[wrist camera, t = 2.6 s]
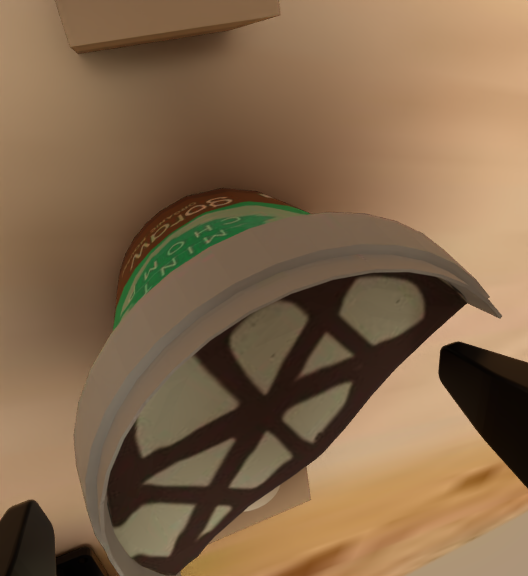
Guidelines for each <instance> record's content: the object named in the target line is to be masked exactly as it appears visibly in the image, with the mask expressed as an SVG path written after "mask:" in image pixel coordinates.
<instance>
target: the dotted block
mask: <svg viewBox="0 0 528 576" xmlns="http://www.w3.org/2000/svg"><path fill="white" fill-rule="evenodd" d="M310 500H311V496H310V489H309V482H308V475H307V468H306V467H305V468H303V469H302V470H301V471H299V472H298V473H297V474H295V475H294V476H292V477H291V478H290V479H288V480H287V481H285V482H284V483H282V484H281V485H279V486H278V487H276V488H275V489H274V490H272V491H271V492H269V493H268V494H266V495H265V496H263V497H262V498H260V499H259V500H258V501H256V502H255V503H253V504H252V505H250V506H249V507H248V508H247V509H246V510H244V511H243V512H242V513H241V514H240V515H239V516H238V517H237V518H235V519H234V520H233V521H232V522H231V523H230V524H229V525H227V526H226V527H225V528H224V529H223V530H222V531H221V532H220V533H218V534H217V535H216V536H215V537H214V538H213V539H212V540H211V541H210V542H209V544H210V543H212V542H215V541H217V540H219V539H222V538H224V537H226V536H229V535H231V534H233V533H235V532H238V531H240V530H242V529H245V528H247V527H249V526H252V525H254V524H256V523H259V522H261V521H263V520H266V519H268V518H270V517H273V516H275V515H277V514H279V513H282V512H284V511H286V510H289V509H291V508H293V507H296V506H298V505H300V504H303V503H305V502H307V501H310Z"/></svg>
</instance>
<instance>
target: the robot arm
mask: <svg viewBox="0 0 528 576" xmlns="http://www.w3.org/2000/svg"><path fill="white" fill-rule="evenodd" d="M438 374H439V378H440V380H441V382H442V384H443V385H444V387H445V388H446V389H447V391H448V392H449V393H450V395H451V396H452V398H453V399H454V400H455V402H456V403H457V404H458V406H459V407H460V408H461V410H462V411H463V413H464V414H465V415H466V417H467V418H468V419H469V421H470V422H471V423H472V425H473V426H474V427H475V429H476V430H477V431H478V433H479V434H480V435H481V436H482V438H483V439H484V440H485V441H486V442H487V443H488V445H489V446H490V447H491V448H492V449H493V450H494V451H495V452H496V454H497V455H498V456H499V457H500V458H501V459H502V460H503V461H504V463H505V464H506V465H507V466H508V467H509V468H510V469H511V470H512V471H513V473H514V474H515V475H516V476H517V477H518V478H519V479H520V480H521V482H522V483H523V484H524V485H525V486H526V487H527V488H528V363H527V362H524V361H521V360H518V359H514V358H511V357H508V356H505V355H501V354H498V353H495V352H492V351H488V350H485V349H482V348H479V347H475V346H472V345H469V344H466V343H462V342H453V343H451V344H448V345H445V346H443V347H442V348H441V350H440V359H439V371H438ZM0 576H108V574H107V572H106V571H105V569H104V568H103V566H102V564H101V563H100V561H99V560H98V558H97V557H96V555H95V553H94V552H93V550H92V549H91V548H87V547H86V548H80V549H78V550H75V551H73V552H70V553H68V554H65V555H63V556H60V557H58V558H56V559H55V537H54V530H53V526H52V524H51V522H50V521H49V519H48V518H47V516H46V515H45V513H44V512H43V510H42V509H41V507H40V506H39V504H38V503H37V502H36V501H35V500H28V501H25V502H22V503H19V504H17V505H14V506H12V507H10V508H9V509H8V510H7V511H6V513H5V514H4V516H3V517H2V519H1V520H0Z"/></svg>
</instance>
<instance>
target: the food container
mask: <svg viewBox="0 0 528 576" xmlns="http://www.w3.org/2000/svg"><path fill="white" fill-rule="evenodd" d="M488 298H489V295H488V294H487V293H486V292H485V290H484V289H483V288H482V287H481V285H480V284H479V283H478V282H477V280H476V279H475V278H474V277H473V276H472V275H470V274H469V273H468V272H467V271H466V270H465V269H464V268H463V267H462V266H461V265H460V264H459V263H458V262H456V261H455V260H454V259H453V258H452V257H451V256H450V255H449V254H448V253H447V252H446V251H445V250H444V249H442V248H441V247H440V246H438V245H437V244H436V243H434V242H433V241H432V240H431V239H429V238H428V237H427V236H425V235H424V234H423V233H421V232H418V231H416V230H414V229H412V228H410V227H408V226H406V225H403V224H401V223H399V222H397V221H394V220H389V219H385V218H381V217H377V216H373V215H368V214H361V213H339V212H325V213H317V214H310V213H308V212H305V211H303V210H300V209H298V208H296V207H293V206H291V205H289V204H286V203H284V202H282V201H279V200H277V199H274V198H272V197H270V196H267V195H265V194H263V193H260V192H258V191H248V190H238V189H227V188H220V189H216V190H211V191H207V192H203V193H199V194H194V195H190V196H186V197H184V198H182V199H181V200H179V201H177V202H175V203H174V204H172V205H170V206H168V207H167V208H165V209H163V210H162V211H160V212H159V213H158V214H157V215H155V216H154V217H153V218H152V219H151V220H150V221H149V222H147V223H146V224H145V226H144V227H143V228H142V229H141V231H140V232H139V233H138V234H137V235H136V237H135V238H134V240H133V242H132V243H131V245H130V247H129V249H128V250H127V252H126V254H125V257H124V260H123V263H122V266H121V269H120V274H119V280H118V287H117V297H116V306H115V316H114V325H113V332H112V333H111V334H110V336H109V338H108V339H107V341H106V343H105V345H104V346H103V348H102V350H101V351H100V353H99V355H98V357H97V358H96V360H95V362H94V363H93V365H92V367H91V369H90V372H89V374H88V377H87V380H86V383H85V385H84V388H83V391H82V394H81V396H80V399H79V402H78V408H77V415H76V422H75V429H74V446H75V458H76V467H77V471H78V475H79V479H80V483H81V487H82V491H83V496H84V500H85V504H86V508H87V511H88V515H89V518H90V521H91V524H92V527H93V530H94V533H95V536H96V537H97V539H98V540H99V542H100V544H101V545H102V547H103V548H104V550H105V551H106V553H107V556H108V559H109V560H110V562H111V563H112V565H113V566H114V568H115V569H116V571H117V572H118V574H119V575H120V576H181V573H180V571H181V570H182V569H183V568H184V567H185V566H186V565H187V564H188V563H190V562H191V561H192V560H194V559H195V558H196V557H198V556H199V554H200V553H201V552H202V550H203V549H204V548H205V547H206V546H207V545H208V544H209V542H210V541H211V540H212V539H213V538H214V537H215V536H216V535H217V534H218V533H220V532H221V531H222V530H223V529H224V528H225V527H226V526H227V525H229V524H230V523H231V522H232V521H233V520H234V519H235V518H237V517H238V516H239V515H240V514H241V513H242V512H243V511H244V510H246V509H247V508H248V507H249V506H250V505H252V504H253V503H255V502H256V501H258V500H259V499H260V498H262V497H263V496H265V495H266V494H268V493H269V492H271V491H272V490H274V489H275V488H276V487H278V486H279V485H281V484H282V483H284V482H285V481H287V480H288V479H290V478H291V477H292V476H294V475H295V474H297V473H298V472H299V471H301V470H302V469H303V468H305V467H306V466H307V465H309V464H310V463H311V462H313V461H314V460H315V459H317V458H318V457H319V456H320V455H321V454H322V453H323V452H324V451H325V450H326V449H327V448H328V447H329V446H330V444H331V443H332V442H333V441H334V440H335V439H336V438H337V437H338V436H339V434H340V433H341V432H342V431H343V430H344V429H345V428H346V427H347V425H348V424H349V423H350V422H351V420H352V419H353V418H354V417H355V415H356V414H357V413H358V412H359V410H360V409H361V408H362V407H363V406H364V404H365V403H366V402H367V401H368V399H369V398H370V397H371V396H372V394H373V393H374V392H375V391H376V390H377V389H378V388H379V387H380V386H381V384H382V383H383V382H384V381H385V380H386V379H387V378H388V377H389V376H390V374H391V373H392V372H393V371H394V370H395V369H396V368H397V367H398V366H399V365H400V364H401V363H402V362H403V361H404V360H405V359H406V358H407V357H409V356H410V355H411V354H412V353H413V352H414V351H415V350H416V349H417V348H418V347H419V346H420V345H421V344H422V343H423V342H424V341H425V340H426V339H427V338H429V337H430V336H431V335H432V334H433V333H434V332H435V331H436V330H437V329H438V328H440V327H441V326H442V325H443V324H444V323H445V322H446V321H447V320H448V319H450V318H451V317H452V316H453V315H454V314H455V313H456V312H457V311H459V310H460V309H461V308H462V307H463V306H464V305H466V304H467V303H468V304H470V305H472V306H474V307H476V308H479V309H481V310H483V311H485V312H487V313H489V314H491V315H493V316H495V317H498V318H501V317H502V315H501V314H500V313H499V312H498V310H497V309H496V308H495V307H494V306H493V304H492V303H491V302H490V301H489V300H488Z"/></svg>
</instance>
